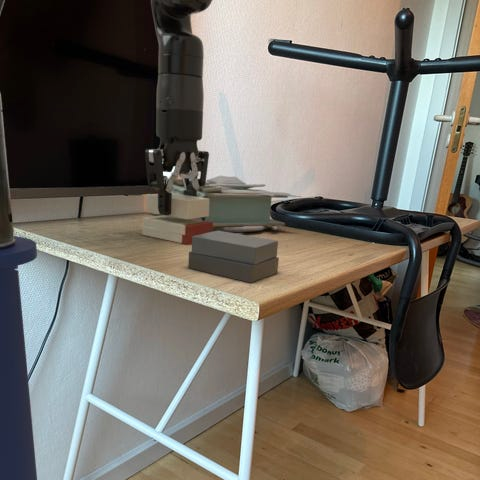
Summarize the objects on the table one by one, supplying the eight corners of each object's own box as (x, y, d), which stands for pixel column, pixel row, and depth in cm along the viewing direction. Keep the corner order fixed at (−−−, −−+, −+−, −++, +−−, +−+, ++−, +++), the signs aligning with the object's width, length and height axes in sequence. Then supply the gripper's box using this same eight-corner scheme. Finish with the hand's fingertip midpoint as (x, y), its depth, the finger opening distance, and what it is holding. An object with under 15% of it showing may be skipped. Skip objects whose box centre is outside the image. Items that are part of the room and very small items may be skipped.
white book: (187, 219, 80) (187, 200, 79) (146, 212, 84) (146, 194, 83) (208, 216, 84) (209, 198, 83) (169, 209, 89) (169, 192, 88)
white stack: (186, 244, 80) (187, 226, 79) (140, 235, 85) (140, 217, 84) (212, 239, 86) (213, 222, 85) (168, 230, 91) (168, 214, 90)
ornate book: (145, 216, 111) (202, 236, 86) (145, 172, 108) (203, 180, 83) (232, 215, 122) (304, 233, 97) (234, 175, 119) (308, 183, 94)
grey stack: (250, 283, 61) (253, 248, 59) (187, 267, 66) (189, 235, 64) (278, 272, 67) (281, 241, 65) (218, 259, 72) (220, 229, 70)
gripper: (189, 111, 86) (186, 207, 92) (130, 102, 74) (131, 213, 80) (224, 112, 82) (219, 212, 88) (168, 104, 71) (166, 220, 77)
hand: (177, 212), depth 84 cm, fingers closed on white book, 6 cm apart
